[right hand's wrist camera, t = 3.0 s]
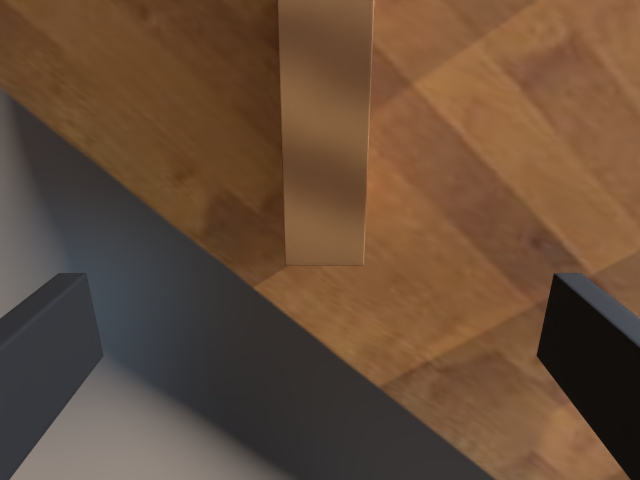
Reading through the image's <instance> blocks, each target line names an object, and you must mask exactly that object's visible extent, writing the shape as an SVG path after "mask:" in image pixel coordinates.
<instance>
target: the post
mask: <svg viewBox="0 0 640 480" xmlns="http://www.w3.org/2000/svg"><path fill="white" fill-rule="evenodd" d="M277 8H278V40H279V73H280V105H281V138H282V170H283V203H284V235H285V265H326V266H363V265H364V247H365V222H366V196H367V171H368V145H369V119H370V94H371V68H372V42H373V17H374V0H277Z"/></svg>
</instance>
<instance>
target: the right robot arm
mask: <svg viewBox="0 0 640 480" xmlns="http://www.w3.org/2000/svg"><path fill="white" fill-rule="evenodd" d="M102 357H103V352H102V347H101V342H100V338H99V333H98V328H97V323H96V318H95V314H94V309H93V304H92V299H91V295H90V290H89V285H88V280H87V276H86V273H59V274H57V275H56V276H55V277H53V278H52V279H51V280H50V281H48V282H47V283H46V284H44V285H43V286H42V287H40V288H39V289H38V290H37V291H35V292H34V293H33V294H31V295H30V296H29V297H28V298H26V299H25V300H24V301H22V302H21V303H20V304H19V305H17V306H16V307H15V308H13V309H12V310H11V311H10V312H8V313H7V314H6V315H4V316H3V317H2V318H1V319H0V480H9V479H10V478H11V477H12V475H13V474H14V473H15V471H16V470H17V469H18V468H19V466H20V465H21V464H22V462H23V461H24V460H25V458H26V457H27V456H28V454H29V453H30V452H31V450H32V449H33V448H34V446H35V445H36V444H37V443H38V441H39V440H40V439H41V437H42V436H43V435H44V433H45V432H46V431H47V429H48V428H49V427H50V425H51V424H52V423H53V421H54V420H55V419H56V417H57V416H58V415H59V414H60V412H61V411H62V410H63V408H64V407H65V406H66V404H67V403H68V402H69V400H70V399H71V398H72V396H73V395H74V394H75V392H76V391H77V390H78V388H79V387H80V386H81V385H82V383H83V382H84V381H85V379H86V378H87V377H88V375H89V374H90V373H91V371H92V370H93V369H94V367H95V366H96V365H97V364H98V362H99V361H100V360H101V358H102ZM537 357H538V358H539V360H540V361H541V362H542V364H543V365H544V366H545V367H546V369H547V370H548V371H549V373H550V374H551V375H552V377H553V378H554V379H555V381H556V382H557V383H558V385H559V386H560V387H561V389H562V390H563V391H564V392H565V394H566V395H567V396H568V398H569V399H570V400H571V402H572V403H573V404H574V406H575V407H576V408H577V410H578V411H579V412H580V414H581V415H582V416H583V418H584V419H585V420H586V421H587V423H588V424H589V425H590V427H591V428H592V429H593V431H594V432H595V433H596V435H597V436H598V437H599V439H600V440H601V441H602V443H603V444H604V445H605V446H606V448H607V449H608V450H609V452H610V453H611V454H612V456H613V457H614V458H615V460H616V461H617V462H618V464H619V465H620V466H621V468H622V469H623V470H624V472H625V473H626V474H627V475H628V477H629V478H630V479H631V480H640V319H639V318H638V317H637V316H636V315H634V314H633V313H632V312H630V311H629V310H628V309H627V308H625V307H624V306H623V305H621V304H620V303H619V302H618V301H616V300H615V299H614V298H612V297H611V296H610V295H609V294H607V293H606V292H605V291H603V290H602V289H601V288H600V287H598V286H597V285H596V284H594V283H593V282H592V281H591V280H589V279H588V278H587V277H585V276H584V275H583V274H581V273H554V276H553V280H552V285H551V290H550V295H549V299H548V304H547V309H546V314H545V318H544V323H543V328H542V333H541V337H540V342H539V347H538V352H537Z"/></svg>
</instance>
